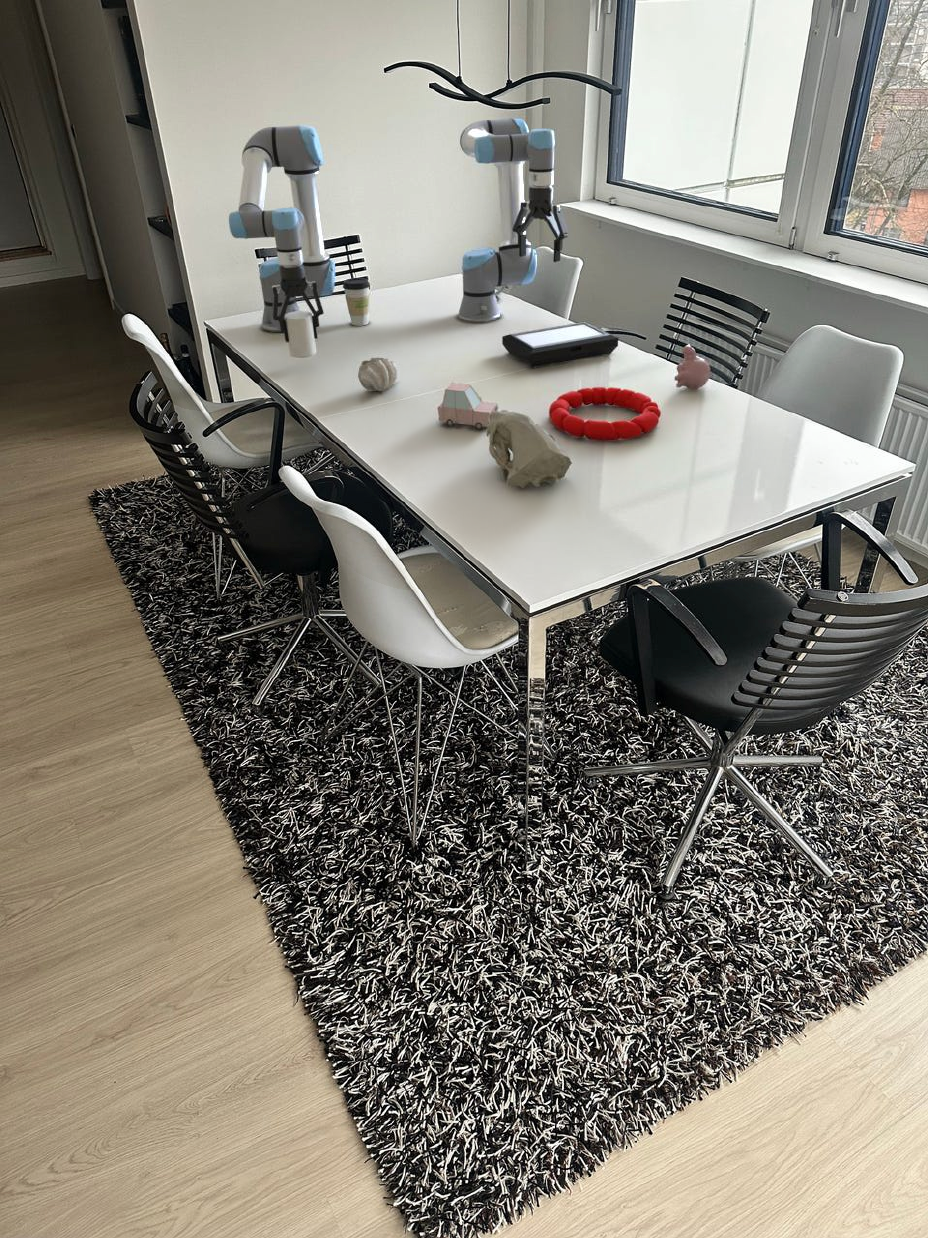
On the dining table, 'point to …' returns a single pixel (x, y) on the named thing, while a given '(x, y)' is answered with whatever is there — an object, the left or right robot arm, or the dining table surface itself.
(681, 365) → the figurine
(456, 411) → the toy car
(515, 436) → the animal skull
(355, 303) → the coffee cup
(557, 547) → the dining table surface
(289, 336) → the canister
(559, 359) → the electronic device
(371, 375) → the seashell
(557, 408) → the decorative ring
